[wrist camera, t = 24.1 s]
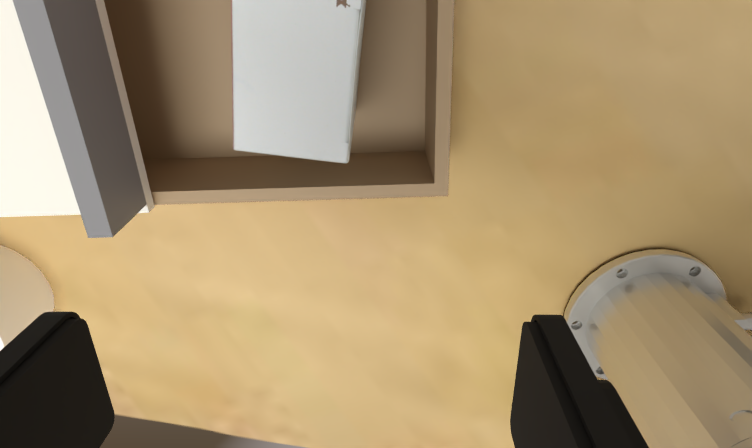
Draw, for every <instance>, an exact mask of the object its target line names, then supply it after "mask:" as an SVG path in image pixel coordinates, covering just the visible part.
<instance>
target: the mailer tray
mask: <svg viewBox="0 0 752 448" xmlns="http://www.w3.org/2000/svg"><path fill="white" fill-rule="evenodd" d="M104 3H105V7H106V11H107V16H108V20H109V24H110V28H111V32H112V36H113V40H114V44H115V48H116V52H117V56H118V60H119V64H120V68H121V72H122V77H123V81H124V85H125V89H126V93H127V97H128V101H129V105H130V109H131V113H132V117H133V121H134V125H135V129H136V133H137V137H138V142H139V146H140V150H141V154H142V158H143V162H144V166H145V170H146V174H147V178H148V182H149V186H150V190H151V194H152V198H153V203H154V205H164V204H197V203H231V202H264V201H298V200H331V199H365V198H398V197H432V196H448V181H449V151H450V120H451V90H452V60H453V29H454V0H366V9H365V19H364V29H363V39H362V49H361V59H360V69H359V81H358V92H357V102H356V112H355V120H354V127H353V135H352V142H351V150H350V157H349V162H348V163H337V162H328V161H320V160H311V159H303V158H294V157H286V156H277V155H269V154H261V153H253V152H245V151H236V150H234V149H233V121H232V53H231V0H104Z"/></svg>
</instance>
